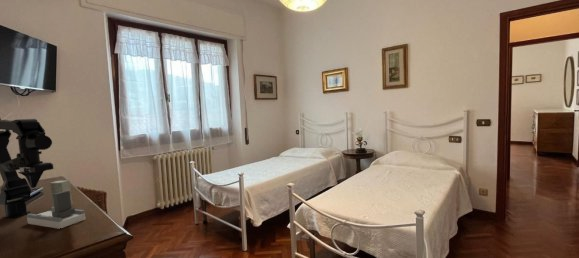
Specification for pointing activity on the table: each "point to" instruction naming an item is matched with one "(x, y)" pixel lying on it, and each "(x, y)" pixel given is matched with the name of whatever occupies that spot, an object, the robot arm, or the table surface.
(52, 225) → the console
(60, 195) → the slider
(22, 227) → the table surface
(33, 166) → the robot arm
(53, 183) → the skincare box
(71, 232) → the table surface
